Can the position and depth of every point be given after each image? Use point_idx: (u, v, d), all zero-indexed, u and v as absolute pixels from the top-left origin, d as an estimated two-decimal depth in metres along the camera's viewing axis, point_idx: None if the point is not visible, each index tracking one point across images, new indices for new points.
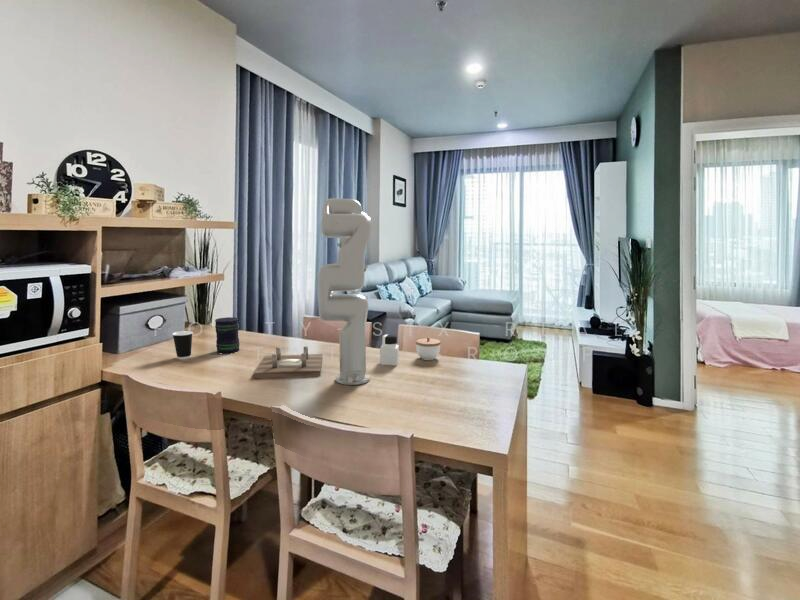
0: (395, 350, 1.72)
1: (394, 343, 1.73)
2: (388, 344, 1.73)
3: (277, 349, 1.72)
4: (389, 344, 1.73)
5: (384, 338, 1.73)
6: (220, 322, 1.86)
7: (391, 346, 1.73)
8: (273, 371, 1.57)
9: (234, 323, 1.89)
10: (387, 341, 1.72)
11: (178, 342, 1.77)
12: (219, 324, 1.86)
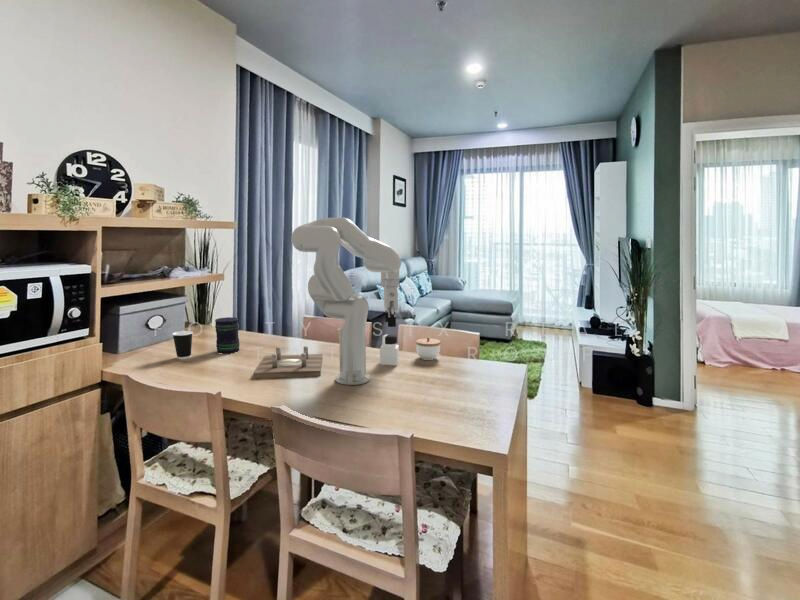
0: (395, 350, 1.72)
1: (394, 343, 1.73)
2: (388, 344, 1.73)
3: (277, 349, 1.72)
4: (389, 344, 1.73)
5: (384, 338, 1.73)
6: (220, 322, 1.86)
7: (391, 346, 1.73)
8: (273, 371, 1.57)
9: (234, 323, 1.89)
10: (387, 341, 1.72)
11: (178, 342, 1.77)
12: (219, 324, 1.86)
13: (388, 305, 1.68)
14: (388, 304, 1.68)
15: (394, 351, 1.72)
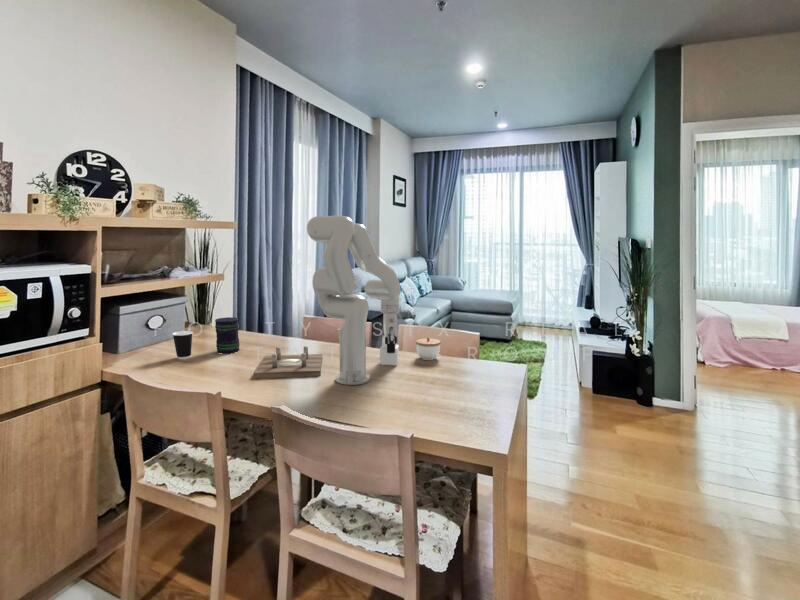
0: (395, 350, 1.72)
1: None
2: None
3: (277, 349, 1.72)
4: None
5: (384, 338, 1.73)
6: (220, 322, 1.86)
7: None
8: (273, 371, 1.57)
9: (234, 323, 1.89)
10: (387, 341, 1.72)
11: (178, 342, 1.77)
12: (219, 324, 1.86)
13: (387, 331, 1.70)
14: (387, 330, 1.70)
15: None
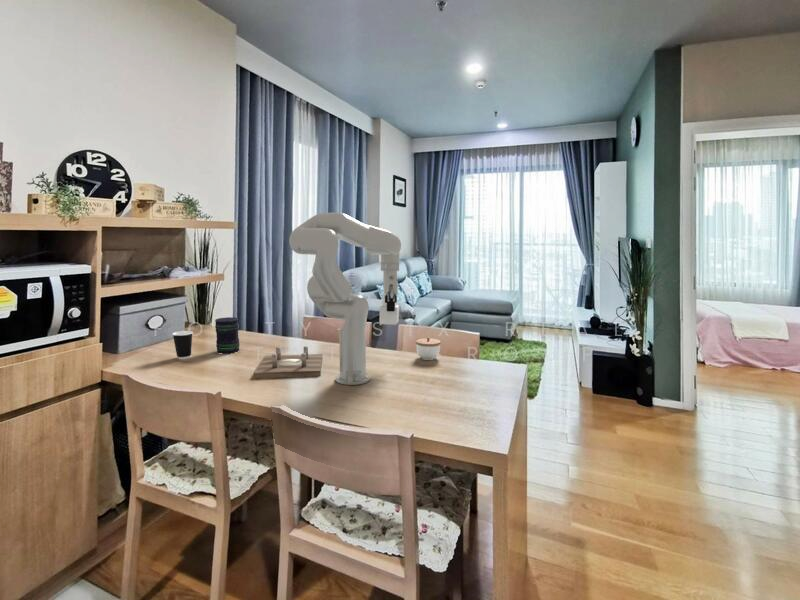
0: (395, 309, 1.69)
1: None
2: None
3: (277, 349, 1.72)
4: None
5: (384, 297, 1.71)
6: (220, 322, 1.86)
7: None
8: (273, 371, 1.57)
9: (234, 323, 1.89)
10: None
11: (178, 342, 1.77)
12: (219, 324, 1.86)
13: (387, 288, 1.67)
14: (387, 287, 1.67)
15: None
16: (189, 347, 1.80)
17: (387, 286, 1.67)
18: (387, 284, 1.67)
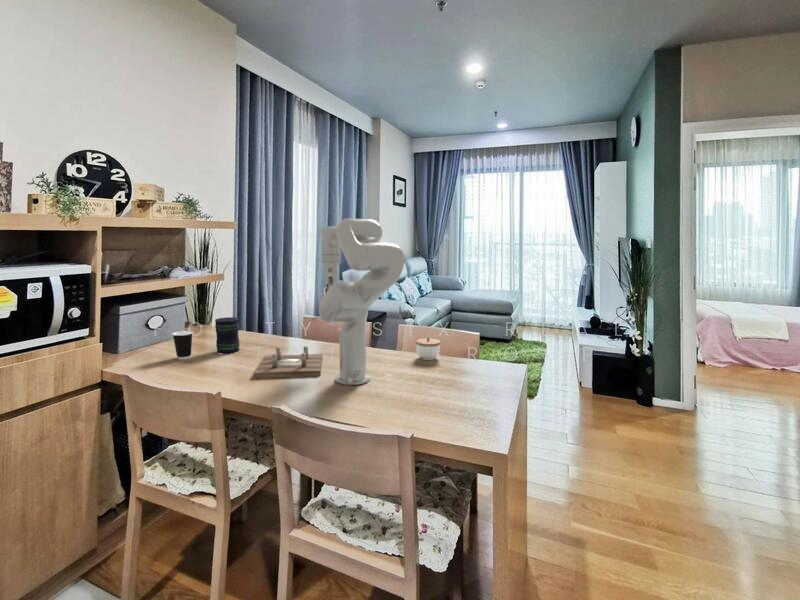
0: None
1: None
2: None
3: (277, 349, 1.72)
4: None
5: (325, 289, 1.66)
6: (220, 322, 1.86)
7: None
8: (273, 371, 1.57)
9: (234, 323, 1.89)
10: None
11: (178, 342, 1.77)
12: (219, 324, 1.86)
13: (327, 281, 1.62)
14: (327, 280, 1.62)
15: None
16: (189, 347, 1.80)
17: (326, 278, 1.62)
18: (326, 276, 1.62)
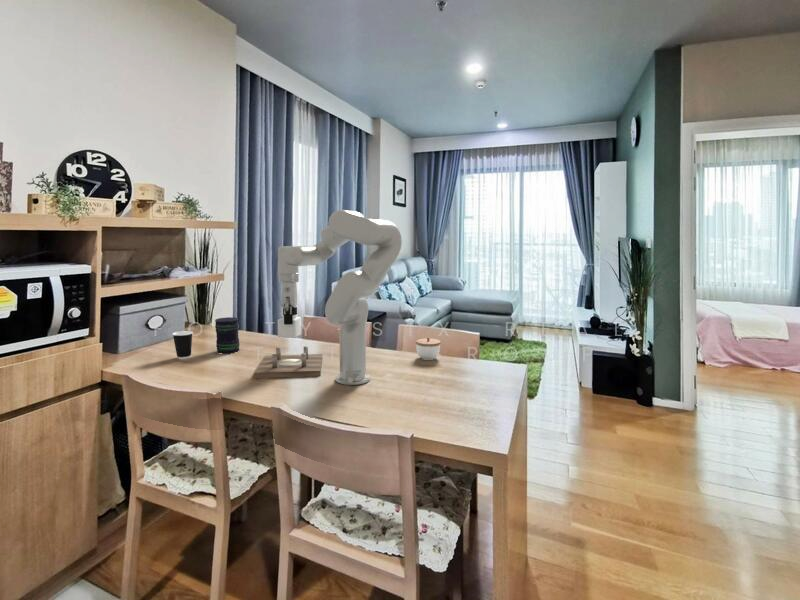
0: (293, 321, 1.62)
1: (293, 314, 1.64)
2: None
3: (277, 349, 1.72)
4: None
5: (282, 309, 1.64)
6: (220, 322, 1.86)
7: None
8: (273, 371, 1.57)
9: (234, 323, 1.89)
10: None
11: (178, 342, 1.77)
12: (219, 324, 1.86)
13: (284, 301, 1.60)
14: (284, 300, 1.60)
15: None
16: (189, 347, 1.80)
17: (283, 298, 1.60)
18: (283, 296, 1.60)
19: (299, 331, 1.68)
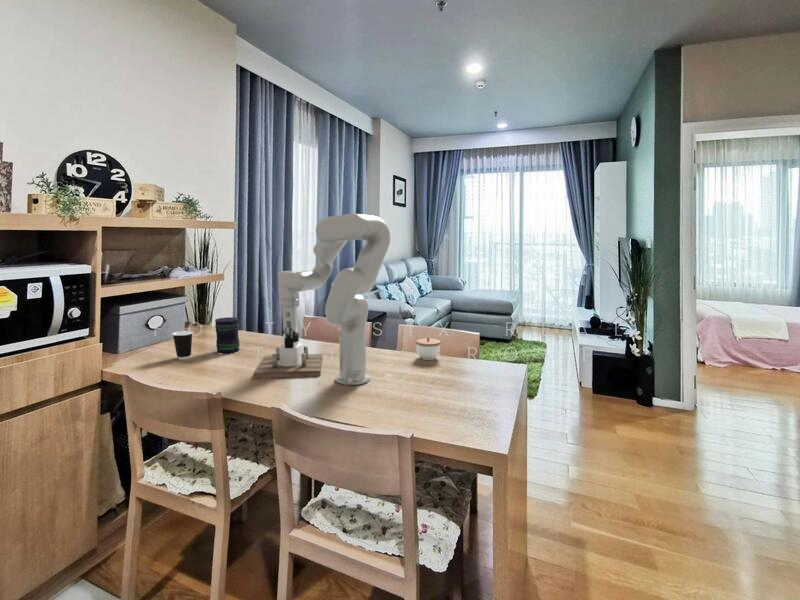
0: (295, 349, 1.64)
1: (295, 341, 1.65)
2: None
3: (277, 349, 1.72)
4: None
5: (284, 336, 1.65)
6: (220, 322, 1.86)
7: None
8: (273, 371, 1.57)
9: (234, 323, 1.89)
10: None
11: (178, 342, 1.77)
12: (219, 324, 1.86)
13: (284, 326, 1.61)
14: (284, 324, 1.61)
15: (294, 350, 1.64)
16: (189, 347, 1.80)
17: (284, 323, 1.61)
18: (284, 321, 1.61)
19: (300, 357, 1.69)
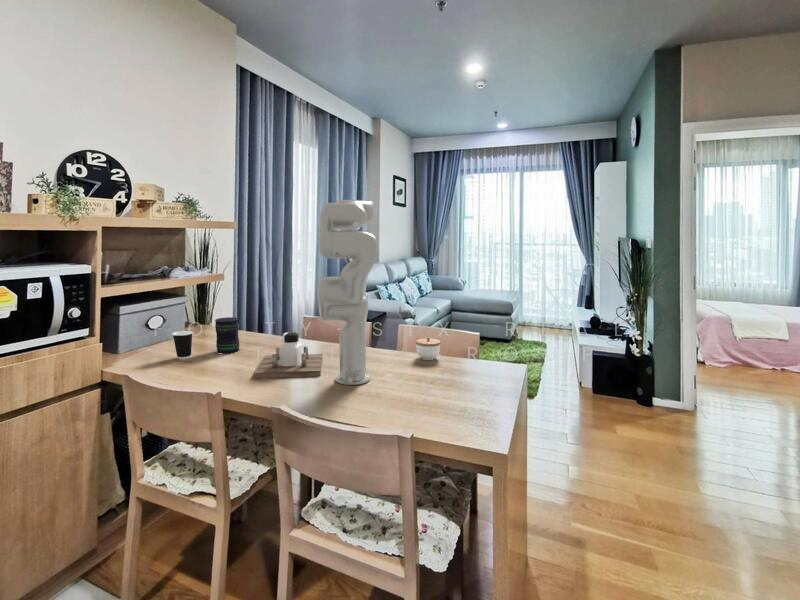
0: (295, 349, 1.64)
1: (294, 341, 1.65)
2: (288, 343, 1.64)
3: (277, 349, 1.72)
4: (288, 342, 1.64)
5: (283, 336, 1.65)
6: (220, 322, 1.86)
7: (291, 345, 1.65)
8: (273, 371, 1.57)
9: (234, 323, 1.89)
10: (287, 339, 1.64)
11: (178, 342, 1.77)
12: (219, 324, 1.86)
13: None
14: None
15: (294, 350, 1.64)
16: (189, 347, 1.80)
17: None
18: None
19: (300, 357, 1.69)
